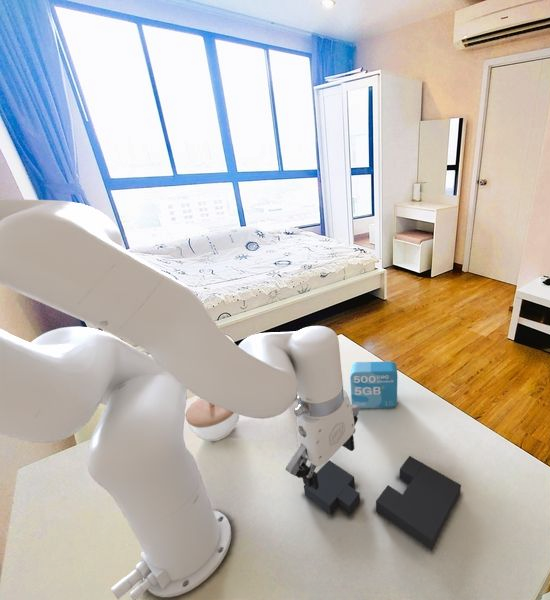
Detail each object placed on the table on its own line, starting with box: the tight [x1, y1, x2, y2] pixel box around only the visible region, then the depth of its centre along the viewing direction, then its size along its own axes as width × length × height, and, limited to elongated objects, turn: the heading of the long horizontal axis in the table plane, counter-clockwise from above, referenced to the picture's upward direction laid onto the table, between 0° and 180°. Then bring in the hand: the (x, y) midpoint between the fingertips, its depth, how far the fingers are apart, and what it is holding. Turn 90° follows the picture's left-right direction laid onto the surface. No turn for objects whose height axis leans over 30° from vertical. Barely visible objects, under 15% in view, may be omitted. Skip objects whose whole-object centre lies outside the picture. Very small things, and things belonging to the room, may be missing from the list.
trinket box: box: [185, 397, 240, 442], centre depth 76 cm, size 11×11×9 cm
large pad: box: [375, 455, 462, 551], centre depth 62 cm, size 12×12×3 cm
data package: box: [349, 360, 398, 409], centre depth 85 cm, size 12×4×12 cm, turn 94°
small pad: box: [303, 459, 361, 517], centre depth 63 cm, size 7×10×3 cm
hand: (330, 464), depth 62 cm, fingers open, 9 cm apart
